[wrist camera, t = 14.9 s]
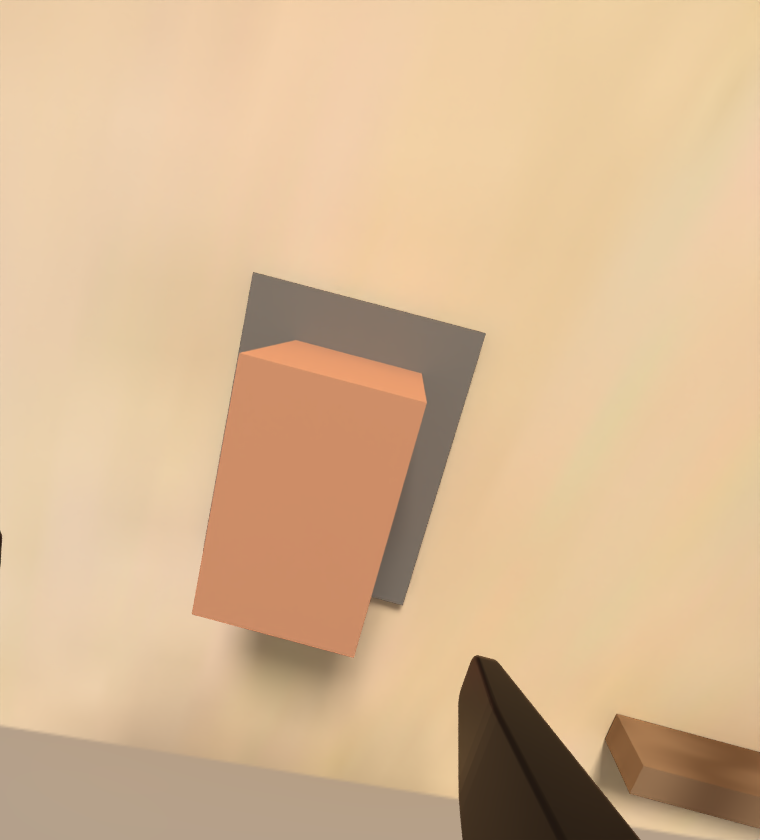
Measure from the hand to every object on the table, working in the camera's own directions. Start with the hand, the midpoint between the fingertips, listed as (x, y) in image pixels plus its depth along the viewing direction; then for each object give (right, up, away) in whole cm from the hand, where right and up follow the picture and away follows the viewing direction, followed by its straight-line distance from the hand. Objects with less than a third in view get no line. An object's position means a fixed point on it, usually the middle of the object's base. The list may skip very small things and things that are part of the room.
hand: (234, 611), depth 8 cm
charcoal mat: (+1, +2, +11) cm, 11 cm away
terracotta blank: (+1, +2, +10) cm, 10 cm away
